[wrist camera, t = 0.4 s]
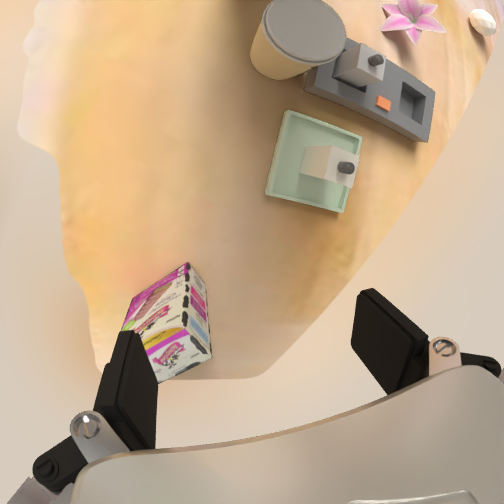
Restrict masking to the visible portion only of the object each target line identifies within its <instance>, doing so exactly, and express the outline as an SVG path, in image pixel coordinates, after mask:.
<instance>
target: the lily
mask: <svg viewBox="0 0 504 504" xmlns="http://www.w3.org/2000/svg"><path fill="white" fill-rule="evenodd" d="M382 7H383V8H384V9H385V10H386V11H387V12H388V13H390V14H391V16H389V17H388V18H387V19H386V20H385V22H384V23H383V24H382V26H381V28H380V29H381V31H392V30H403V29H405V31H406V33H407V35H408V36H409V38H410V40H411V41H412V42H413V44H414V45H416V44H417V43H418V41H419V38H420V35H421V32H422V30H427V31H434V32H440V33H446V30H445V28H444V27H443V26H442V25H441V24H440V23H439V22H438V21H437V20H436V19H435V18H433V17H432V16H430V15H431V14H432V13H433V12H434V11H435V10H436V8H437V7H438V5H436V4H422V5H419V3H418V1H417V0H398V5H396V4H382Z"/></svg>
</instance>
